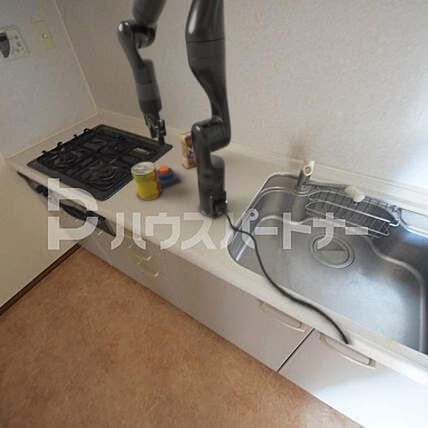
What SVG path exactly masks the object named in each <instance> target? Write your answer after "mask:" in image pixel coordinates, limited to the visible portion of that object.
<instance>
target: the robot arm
mask: <svg viewBox="0 0 428 428" xmlns="http://www.w3.org/2000/svg"><path fill="white" fill-rule="evenodd" d="M167 3H168V0H131V6H130V9H131V14H132V17H131V18H125V19H121V20H119V21H118V22H117V25H116V37H117V40H118V43H119V45H120V47H121V49H122V51H123V53H124V55H125V58H126V59H127V61H128V63H129V66H130V68H131V73H132V76H133V80H134V86H135V87H134V88H135V93H136V97H137V101H138V105H139V109H140V111H141V113H142V115H143V118H144V123H145V125H146V127H147V128H148V130H149V134H150V138H151V139H152V140H154V139H157V141H158V142H157V143H158V145H159V147H163V146H165V145H166V141H165V137H166V136H167V135H168V133H167V129H166V122H165V119H164V118H162V117H161V115H160V112H161V111H162V110H163V104H162V97H161V91H160V87H159V83H158V79H157V72H156V67H155V63H154V61H153V59H152V58H151V57H145V56H144V57H143V56H141V53H140V52H139V50H142V49H146V48H149V47H151V46H152V45H153V44H154V43H155V41H156V40H157V39H156V38H157V32H158V25H159V20H160V18H161V16H162V14H163V12H164V9H165V7H166V5H167ZM184 40H185V47H186V56H187V63H188V67H189V69H190V71H191V74H192V75H193V77H194V78H195V80H196V82H197V83H198V84H199V86H200V87H201V88H202V89H203V91H204V93H205V94H206V97H207V98H208V101H209V106H210V111H211V117H209V118H206V119H202V120H200V121H196V122H194V123H193V124H192V125H191V128H190V131H191V140H192V146H193V152H194V160H195V164H196V165H195V167H196V176H197V189H198V199H199V211H200V212H201V214H203V215H204V216H208V217H210V218H212V219H214V218H216V217H218V216H220V215H222V214H224V215H225V217H226V218H227V220H228V224H229V226H230V227H231V228H232V230H234V231H236V232H239V233H241V234H244V235H247V236H249V237H250V239H252V241H253V245H254V251H255V255H256V258H257V260H258V263H259V267H260V269H261V271H262V273H263V275H264V276H265V278H266V279H267V280H268V281H269V283H270V284H271V285H272V287H274V288H275V289H276V290H278V291H279V292H280V293H281V294H283V295H284V296H285V297H287V298H288V299H290V300H292V301H294V302H296V303H298V304H301V305H304V306H306V307H309V308H311V309H313V310H314V311H315V312H317V313H319V315H321V316H322V317H324V318H325V319H326V320H327V321H328V322H329V323H330V324H331V325H332V326H333V327H334V328H335V330H337V332H338V333H339V334H340V337H341V338H342V340H343V342H344V344H345V345H349V341H348V339H347V337H346V335H345V333H344V332H343V330H342V329H341V328H340V327H339V326H338V324H337V323H336V322H335V321H334V320H333V319H332V318H331V317H329V316H328V315H327V314H326V313H325V312H324V311H322V310H321V309H319V308H318V307H317V306H315V305H313V304H311V303H309V302H307V301H305V300H301V299H300V298H296V297H294V296H292V295H291V294H289V293H288V292H286V291H285V290H284V289H282V287H279V286H278V285H277V284H276V283H275V282H274V280H273V279H272V278H271V277H270V276H269V275H268V272H267V271H266V270H265V266H264V265H263V262H262V260H261V256H260V253H259V250H258V244H257V241H256V238H255V237H254V235H252V234H251V233H250V232H248V231H245V230H242V229H239V228H236V227H235V226H234V225H233V223H232V219H231V217H230V216H229V215H228V213H227V210H228V200H227V190H226V162H225V159H224V158H223V157H222V156H220V155H216V154H213V153H215V152H218V151H220V150H222V149H225V148H227V147H228V146H229V145H230V143H231V141H232V123H231V115H230V106H229V99H228V83H227V82H228V80H227V79H228V78H227V44H226V43H227V41H226V25H225V0H191V1H190V5H189V8H188V12H187V16H186V21H185V27H184Z"/></svg>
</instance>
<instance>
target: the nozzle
mask: <svg viewBox="0 0 428 428" xmlns="http://www.w3.org/2000/svg"><path fill="white" fill-rule="evenodd" d="M169 168H170V166H168V165H162V166H160V167H158V169H159V171H160V174H161V175H166V174H168V173H169Z"/></svg>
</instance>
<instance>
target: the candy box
mask: <svg viewBox="0 0 428 428" xmlns="http://www.w3.org/2000/svg"><path fill="white" fill-rule="evenodd" d="M179 136H180V145H181V154H182V163H183V166H184V167H185V168H186V169H190V168H192V167H194V166H195V167H196V164H195V160H194V152H193V146H192V140H191V130H190V131H187V132H184V133H180V134H179Z"/></svg>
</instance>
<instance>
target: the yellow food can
mask: <svg viewBox="0 0 428 428" xmlns="http://www.w3.org/2000/svg"><path fill="white" fill-rule="evenodd" d="M130 170H131V171H130V172H131V174H132V178H133V180H134V184H135V187H136V190H137V193H138V196H139V198H140V199H142V200H144V201H151V200H155V199H157V198H159V196H160V195H161V194H162V187H161V186H160V183H159V179H158V175H157V167H156V164H155V163H154V162H152V161H148V160H147V161H145V160H143V161H140V162H137V163H135V164H134V165H133V166H132V167H131V168H130Z"/></svg>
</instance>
